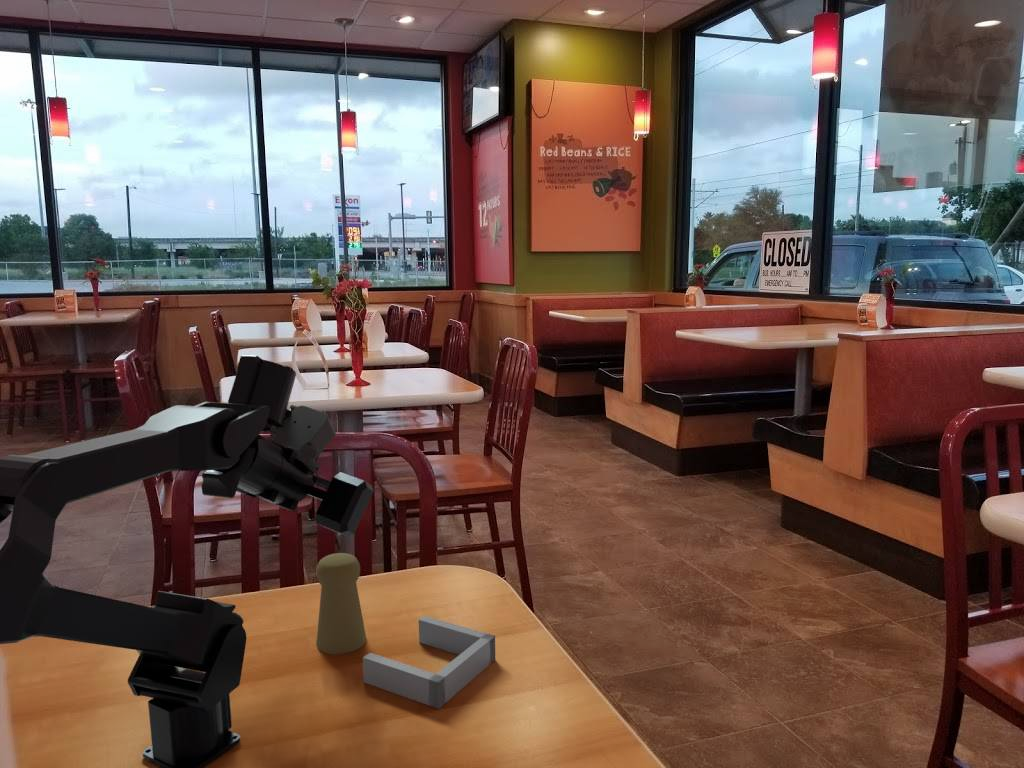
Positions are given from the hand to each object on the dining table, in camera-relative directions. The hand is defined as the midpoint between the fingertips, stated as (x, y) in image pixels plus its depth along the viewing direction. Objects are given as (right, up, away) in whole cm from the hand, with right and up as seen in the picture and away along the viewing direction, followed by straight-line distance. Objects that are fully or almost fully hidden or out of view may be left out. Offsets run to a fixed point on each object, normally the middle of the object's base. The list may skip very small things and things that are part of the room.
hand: (328, 502), depth 96 cm
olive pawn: (+2, -17, -1) cm, 17 cm away
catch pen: (+13, -18, -7) cm, 23 cm away
